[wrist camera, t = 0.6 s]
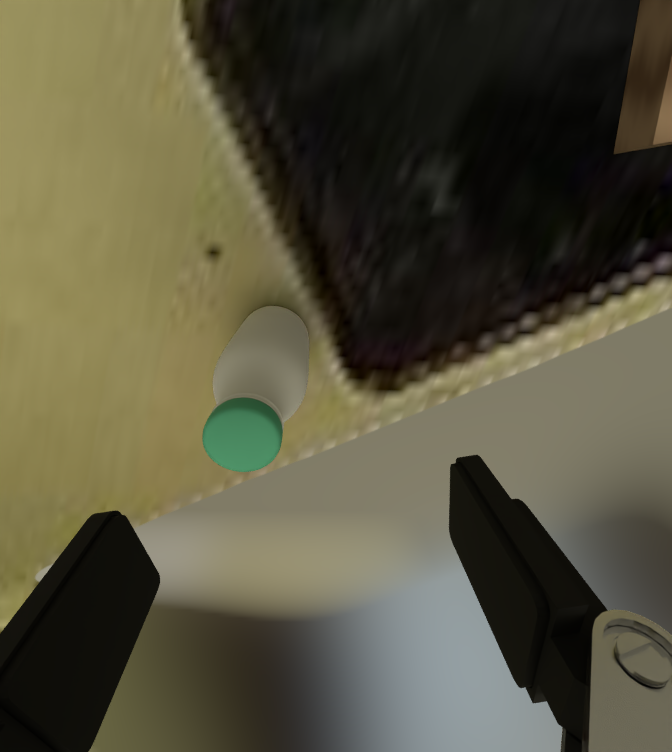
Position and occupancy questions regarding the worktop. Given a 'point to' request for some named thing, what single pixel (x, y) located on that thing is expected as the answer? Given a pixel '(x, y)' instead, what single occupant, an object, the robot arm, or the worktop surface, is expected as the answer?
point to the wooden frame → (648, 81)
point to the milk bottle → (257, 389)
